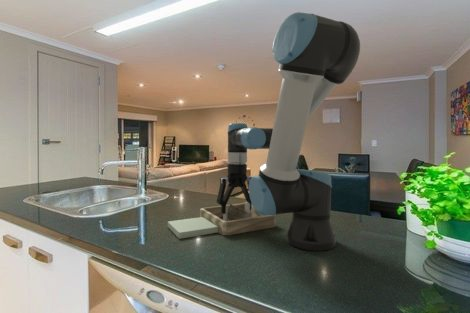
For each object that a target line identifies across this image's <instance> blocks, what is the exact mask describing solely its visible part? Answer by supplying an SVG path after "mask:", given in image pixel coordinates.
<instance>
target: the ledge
mask: <svg viewBox="0 0 470 313" xmlns="http://www.w3.org/2000/svg"><path fill="white" fill-rule="evenodd" d="M167 228H168V230H170V231H171V232H172V233H173V234H174V235H175V236H176V237H177V238H178V239H179V240H180V239H185V238H191V237H197V236H198V237H199V236H206V235H210V234H215V233H219V232H218V226H216V225H214V224H213V223H211V222H210V221H208V220H207V219H205V218H204V217H200V216H199V217H191V218H184V219H178V220H177V219H176V220H170V221H167Z"/></svg>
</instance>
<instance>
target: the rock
mask: <svg viewBox="0 0 470 313" xmlns="http://www.w3.org/2000/svg"><path fill="white" fill-rule="evenodd" d="M229 205H230V207H229V209H228V221H232V220H239V219H245V218H251V216H250V215H251V214H249V213H248V212H246V211H243V210H239V209H238V208H237V207H234V206H233V205H232V204H231V203H230V204H229Z"/></svg>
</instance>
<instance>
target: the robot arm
mask: <svg viewBox="0 0 470 313" xmlns="http://www.w3.org/2000/svg"><path fill="white" fill-rule="evenodd" d="M272 52H273V59H274V60H275V62H277V63H278V64H279V65H278V69H277V71H278V72H279V73H280V75H281V77H282V80H281V85H280V90H279V95H278V99H277V100H278V101H277V106H276V111H275V115H274V116H275V117H274V122H273V127H272V128H267V127H266V128H265V127H258V126H256V127H255V126H250V127H248V124H247V123H244V122H243V123H241V122H238V123H235V122H233V123H232V122H231V123H229V124H228V127H227V177H221V178H219V180H220V183H219V184H220V185H219V190H218V193H217V198H216V203H217V204H218V205H219V206H221V213H223V217H222V220H224V221H229V217H228V205H229V204H228V202H229V199H230V197H231V195H232V193H233V190H235V188H240V189H241V192H242V194H243V196H244V198H245V202H244V203H245V211H246V212H248V213H249V214H250V210H251V205H253V207H254V209H255V210H256V211H257V212H258V213H259V214H261V215H272V216H273V215H276V216H277V215H283V214H290V213H292V217H291V220H290V224H289V228H288V230H287V232H286V242H287V244H289V245H291V246H292V247H295V248H297V249H302V250H306V251H314V252H321V251H329V250H333V249H334V248H335V247H336V235H335V234H334V229H333V225H332V222H331V214H332V213H331V211H332V210H331V208H332V188H333V185H332V176H331V174H329V173H328V172H324V171H314V170H309V169H300V168H299V169H298V168H297V167H298V163H299V157H300V154H301V150H302V146H303V141H304V136H305V132H306V128H307V124H308V120H310V118H311V117H312V115H313V114H314V113H315V112H316V111H317V109H319V107H320V106H321V105H322V103H323V102H324V101H325V99H326V98H327V97H328V96H329V95H330V94H331V93H332V92H333V90H334V89H335V87H336V86H337V85H338V86H339V85H342V84H344V83H345V81H346V80H347V79H348V78H349V76H350V75H351V73H353V71H354V69H355V68H356V66H357V65H356V64H357V63H358V60H359V56H360V52H361V41H360V36H359V34H358V32H357V30H355V28H354V27H353V26H352V25H351V24H349V23H347V22H344V21H337V20H334V19H332V18H327V17H324V16H321V15H317V14H314V13H306V12H301V11H300V12H298V11H297V12H294V13H292V14H290V15H288V16H287V17H286V18H285V19H284V21H283V22H282V23H281V24H280V26H279V27H278V30H277V31H276V33H275V36H274V40H273V44H272ZM248 150H268V153H267V157H266V162H264V163H263V164H261V165H260V167H259V172H258V175H255V174H254V175H253V176H250V175H249V176H247V171H248V169H247V168H248V164H247V162H248ZM227 183H228V185H227ZM246 183H247V184H246ZM226 186H227V188H226Z"/></svg>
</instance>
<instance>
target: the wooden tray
mask: <svg viewBox="0 0 470 313" xmlns="http://www.w3.org/2000/svg"><path fill="white" fill-rule="evenodd" d="M227 205H228V209H229V207H230V204H227ZM232 205H233V206H234V207H237V208H238V209H239V210H243V211H245V202H242V203H233V204H232ZM250 214H251V215H250V218H245V219H239V220H232V221H230V220H228V221H224V220H223V213H221V205H217V206H207V207H202V208H199V217H204V218H205V219H207V220H208V221H210V222H211V223H213V224H214V225H216V226H218V232H217V233H219V234H221V235H222V236H231V235H236V234H242V233H247V232H249V233H250V232H254V231H260V230H265V229H270V228H272V229H273V228H275V227H276V226H277V214H276V215H273V216H272V215H261V214H259V213H258V212H257V211H256V210H255V209H254V207H253V205H252V204H251V210H250Z"/></svg>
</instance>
